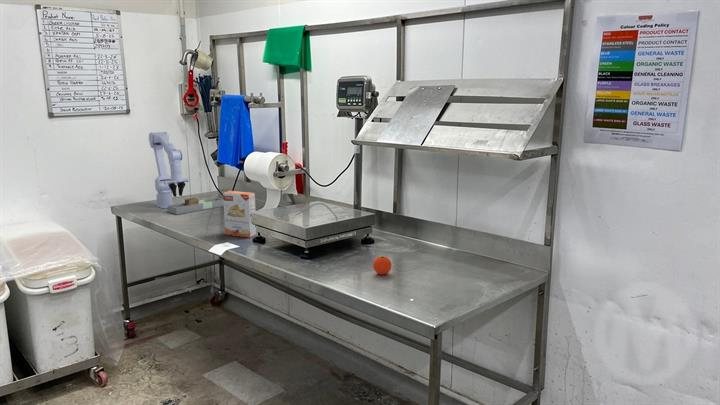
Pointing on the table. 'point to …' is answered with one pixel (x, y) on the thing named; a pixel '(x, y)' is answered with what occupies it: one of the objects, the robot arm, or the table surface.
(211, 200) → the trap channel
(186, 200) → the walnut block
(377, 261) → the clementine
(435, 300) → the table surface
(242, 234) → the cracker box
